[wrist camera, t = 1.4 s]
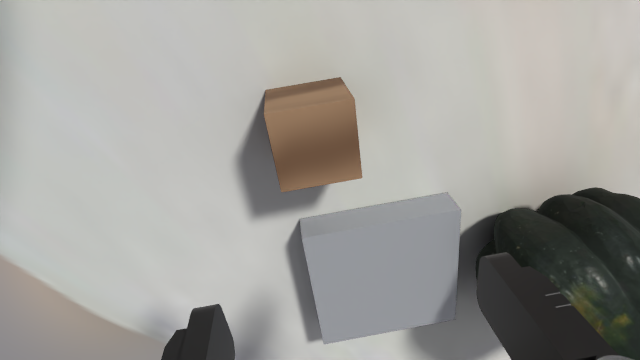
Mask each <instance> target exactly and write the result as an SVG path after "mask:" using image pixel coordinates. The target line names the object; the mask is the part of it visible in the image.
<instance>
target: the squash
mask: <svg viewBox="0 0 640 360" xmlns="http://www.w3.org/2000/svg"><path fill="white" fill-rule="evenodd" d="M494 239H495V240H493V241H492V242H490V243H489V244H487V245H486V246H485V247H484V248H483V249H482V250H481V252H480V253H479V255H478V257H477V261H476V277H477V283H478V271H479V261H480V258H481V257H483V256H488V255H494V254H499V253H505V252H507V253H509V254H510V255H511V256H512V257H513V258H514V259H515V260H516V262H517V263H518V264H519V265H520V266H521V267H528V266H530V267H532V268H533V269H535V270H536V271H538V272H540V273H541V274H543V275H545V276H546V277H548V278H549V280H550V281H551V282H552V283H553V284H554V285H555V286H556V287H557V288H558V289H559V291H560V293H561V294H563V295H564V296H565V297H566V298H567V299H568V300H569V301H570V303H571V305H572V306H574V307H575V308H576V309H577V310H578V311H579V312H580V314H581V315H582V316H583V317H584V318H585V319H586V320H587V321H588V322H589V323H590V324H591V326H592V327H593V328H594V329H595V330H596V331H597V332H598V333H599V334H600V335H601V337H602V338H603V339H604V340H605V341H606V342H607V343H608V344H609V345H610V346H611V347H612V349H613V350H614V351H615V352H616V353H617V354H618V355H620V356H623V357H627V358H630V359H633V360H640V199H639V198H637V197H634V196H630V195H627V194H617V193H612V192H610V191H607V190H605V189H602V188H589V189H585V190H581V191H578V192H576V193H574V194H572V195H558V196H554V197H552V198H550V199H548V200H546V201H545V202H544V203H543V204H542V206H541V207H540V208H539V210H538V213H537V212H535V211H533V210H530V209H510V210H508V211H506V212H503V213H501V214H500V215H499V216H498V217H497V219H496V222H495V225H494Z"/></svg>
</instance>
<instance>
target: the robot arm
mask: <svg viewBox="0 0 640 360" xmlns="http://www.w3.org/2000/svg"><path fill="white" fill-rule="evenodd" d="M477 299H478V303H479V306H480V309H481V311H482V313H483V315H484V316H485V318H486V319H487V321H488V323H489V324H490V326H491V327H492V329H493V331H494V332H495V334H496V335H497V337H498V339H499V340H500V342H501V343H502V345H503V347H504V348H505V350H506V352H507V353H508V355H509V356H510V358H511V360H633V359H630V358H627V357H623V356H620V355H618V354H617V353H616V352H615V351H614V350H613V349H612V347H611V346H610V345H609V344H608V343H607V342H606V341H605V340H604V339H603V338H602V337H601V335H600V334H599V333H598V332H597V331H596V330H595V329H594V328H593V327H592V326H591V324H590V323H589V322H588V321H587V320H586V319H585V318H584V317H583V316H582V315H581V314H580V312H579V311H578V310H577V309H576V308H575V307H574V306H572V305H571V303H570V301H569V300H568V299H567V298H566V297H565V296H564V295H563V294H561V293H560V291H559V289H558V288H557V287H556V286H555V285H554V284H553V283H552V282H551V281H550V280H549V278H548V277H546V276H545V275H543V274H541V273H540V272H538V271H536V270H535V269H533V268H532V267H530V266H528V267H521V266H520V265H519V264H518V263H517V262H516V260H515V259H514V258H513V257H512V256H511V255H510V254H509V253H507V252H505V253H499V254H494V255H488V256H483V257H481V258H480V261H479V271H478V283H477ZM234 359H235V349H234V341H233V337H232V334H231V332H230V329H229V326H228V324H227V321H226V319H225V316H224V313H223V311H222V308H221V306H220V305H219V304H216V305H210V306H205V307H200V308H194V309H193V310H192V312H191V315H190V319H189V323H188V327H187V329H181V330H176V332H175V333H174V335H173V336H172V338H171V339H170V340H169V342H168V343H167V345H166V346H165V349H164V352H163V356H162V359H161V360H234Z"/></svg>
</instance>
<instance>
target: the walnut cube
mask: <svg viewBox="0 0 640 360" xmlns="http://www.w3.org/2000/svg"><path fill="white" fill-rule="evenodd" d="M264 117H265V122H266V126H267V131H268V135H269V139H270V144H271V148H272V153H273V157H274V162H275V166H276V171H277V175H278V179H279V184H280V188H281V192H287V191H292V190H298V189H303V188H309V187H315V186H320V185H326V184H331V183H337V182H343V181H348V180H354V179H360V178H362V170H361V160H360V150H359V140H358V130H357V119H356V109H355V99H354V97H353V96H352V94H351V93H350V91H349V90H348V88H347V87H346V85H345V83H344V82H343V80H342V79H341V77H339V78H333V79H327V80H321V81H316V82H310V83H304V84H298V85H292V86H286V87H281V88H275V89H269V90H266V92H265V105H264Z"/></svg>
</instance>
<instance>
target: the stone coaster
mask: <svg viewBox="0 0 640 360" xmlns="http://www.w3.org/2000/svg"><path fill="white" fill-rule="evenodd" d="M460 221H461V209H460V207H459V206H458V205H457V204H456V202H455V201H454V200H453V199H452V197H451V196H450V195H449V194H448V192H447V193H442V194H436V195H430V196H425V197H419V198H414V199H408V200H403V201H397V202H391V203H386V204H380V205H375V206H369V207H364V208H358V209H352V210H347V211H341V212H336V213H330V214H324V215H319V216H313V217H308V218H302V219H300V227H301V236H302V242H303V247H304V252H305V256H306V261H307V266H308V271H309V276H310V281H311V285H312V290H313V295H314V300H315V305H316V310H317V314H318V319H319V324H320V329H321V334H322V339H323V343H324V344H328V343H334V342H339V341H344V340H350V339H355V338H360V337H366V336H371V335H376V334H381V333H387V332H392V331H397V330H403V329H408V328H413V327H419V326H424V325H429V324H434V323H440V322H445V321H450V320H455V314H456V296H457V277H458V258H459V240H460Z"/></svg>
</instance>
